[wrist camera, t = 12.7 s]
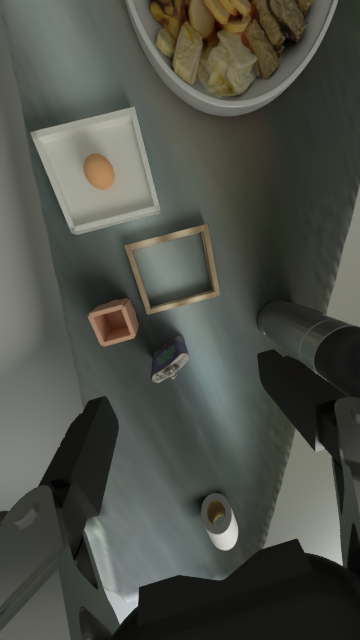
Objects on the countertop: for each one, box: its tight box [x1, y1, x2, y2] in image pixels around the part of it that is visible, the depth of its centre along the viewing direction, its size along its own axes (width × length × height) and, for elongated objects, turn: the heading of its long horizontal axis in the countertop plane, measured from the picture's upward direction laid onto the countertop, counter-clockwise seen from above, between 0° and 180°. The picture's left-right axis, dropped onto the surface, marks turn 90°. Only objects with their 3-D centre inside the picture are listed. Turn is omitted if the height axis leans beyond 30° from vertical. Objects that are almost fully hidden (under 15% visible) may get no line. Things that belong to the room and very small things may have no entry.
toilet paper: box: [201, 493, 238, 550], centre depth 61 cm, size 10×10×10 cm
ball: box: [83, 153, 114, 190], centre depth 29 cm, size 4×4×4 cm
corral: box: [124, 224, 220, 315], centre depth 38 cm, size 16×14×2 cm
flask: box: [151, 335, 189, 383], centre depth 39 cm, size 9×3×11 cm, turn 129°
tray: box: [30, 107, 160, 235], centre depth 31 cm, size 16×14×3 cm
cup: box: [88, 298, 139, 346], centre depth 37 cm, size 7×7×7 cm
